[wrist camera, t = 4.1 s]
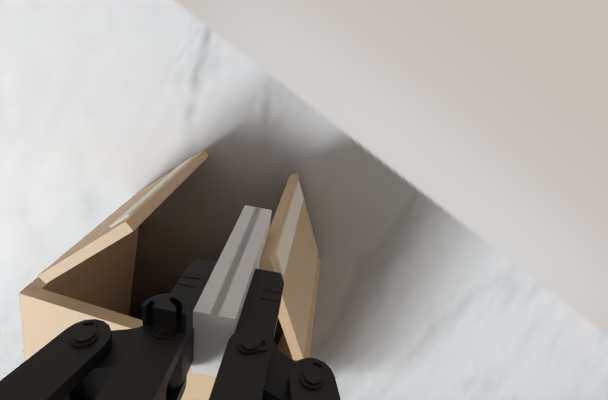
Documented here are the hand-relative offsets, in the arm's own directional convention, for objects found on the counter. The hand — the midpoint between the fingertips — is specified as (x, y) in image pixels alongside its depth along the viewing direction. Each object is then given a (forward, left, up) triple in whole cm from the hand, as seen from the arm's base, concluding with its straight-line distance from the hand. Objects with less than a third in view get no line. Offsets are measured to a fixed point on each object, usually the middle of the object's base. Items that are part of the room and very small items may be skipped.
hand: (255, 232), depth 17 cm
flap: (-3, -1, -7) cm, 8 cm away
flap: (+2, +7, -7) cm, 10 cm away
